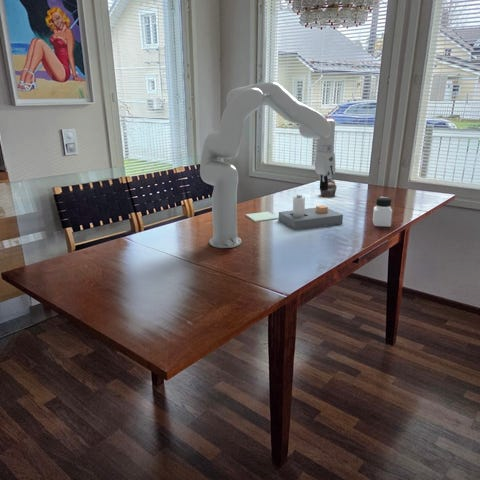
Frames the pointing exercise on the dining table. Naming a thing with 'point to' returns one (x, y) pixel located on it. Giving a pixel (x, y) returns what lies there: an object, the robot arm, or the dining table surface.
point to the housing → (310, 219)
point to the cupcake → (329, 189)
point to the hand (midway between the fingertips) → (323, 189)
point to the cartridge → (298, 206)
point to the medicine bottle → (382, 212)
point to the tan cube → (321, 209)
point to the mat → (262, 216)
